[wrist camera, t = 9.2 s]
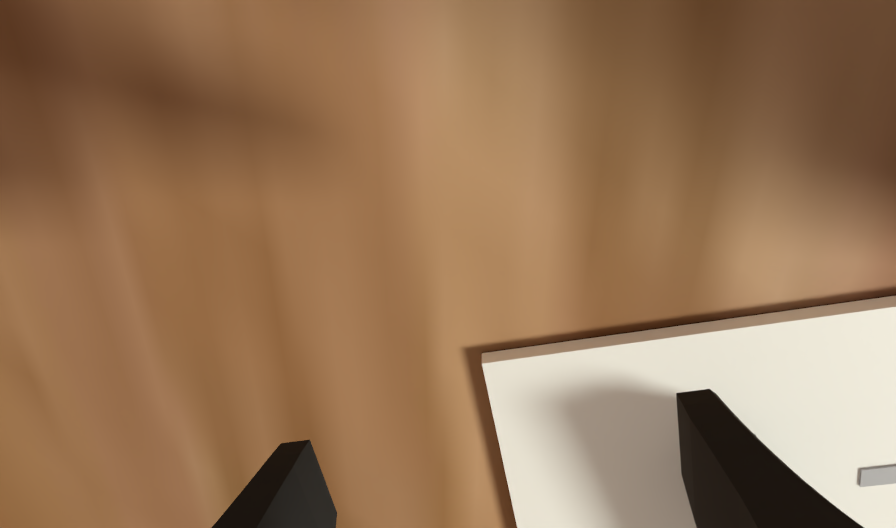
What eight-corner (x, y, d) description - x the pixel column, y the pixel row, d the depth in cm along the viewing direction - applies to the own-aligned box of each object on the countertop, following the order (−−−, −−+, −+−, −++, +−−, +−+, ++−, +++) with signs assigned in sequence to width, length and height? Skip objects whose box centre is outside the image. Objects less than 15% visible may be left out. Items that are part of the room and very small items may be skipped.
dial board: (990, 282, 22) (1005, 293, 21) (939, 585, 28) (949, 600, 28) (481, 353, 24) (481, 365, 24) (539, 620, 30) (540, 635, 30)
